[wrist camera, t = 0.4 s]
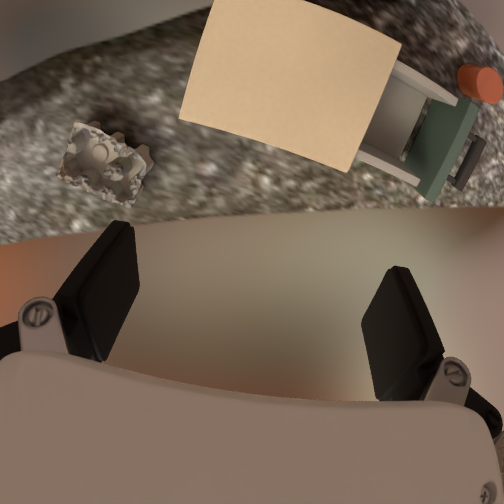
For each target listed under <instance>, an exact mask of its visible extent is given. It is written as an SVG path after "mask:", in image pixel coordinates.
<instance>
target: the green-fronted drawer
mask: <svg viewBox="0 0 504 504" xmlns="http://www.w3.org/2000/svg"><path fill="white" fill-rule="evenodd" d="M427 97H429V98H432V99H433V101H432V103H431V105H430V108H429V110H428V112H427V115H426V117H425V119H424V121H423V124H422V126H421V128H420V130H419V133H418V135H417V137H416V139H415V141H414V143H413V145H412V147H411V150H410V152H409V154H408V156H407V158H406V160H405V162H404V163H403V162H402V161H400V160H399V158H400V156H401V154H402V152H403V150H404V148H405V146H406V144H407V141H408V139H409V137H410V135H411V133H412V131H413V128H414V126H415V124H416V122H417V120H418V117H419V115H420V113H421V110H422V108H423V106H424V103H425V101H426V99H427ZM479 109H480V108H479V107H478V106H477V105H476V104H474V103H473V102H472V101H469V100H466V99H463V98H460V97H457V96H454V95H452V94H451V93H449V92H448V91H447V90H445V89H444V88H442V87H441V86H439V85H438V84H436V83H435V82H433V81H432V80H430V79H429V78H427V77H425V76H424V75H422V74H421V73H419V72H417V71H416V70H414V69H412V68H411V67H409V66H407V65H406V64H404V63H402V62H400V61H398V60H397V59H396V61H395V64H394V66H393V69H392V71H391V74H390V76H389V79H388V81H387V84H386V86H385V88H384V91H383V93H382V96H381V98H380V100H379V103H378V105H377V107H376V110H375V112H374V114H373V117H372V119H371V121H370V124H369V126H368V128H367V131H366V133H365V135H364V137H363V140H362V142H361V144H360V146H359V148H358V151H357V153H356V155H355V157H354V158H357V159H359V160H361V161H363V162H366V163H368V164H370V165H372V166H375V167H377V168H379V169H381V170H383V171H385V172H388V173H390V174H392V175H394V176H396V177H398V178H400V179H402V180H404V181H406V182H408V183H410V184H412V185H413V186H414V187H415V189H416V190H417V191H418V192H419V193H420V194H421V195H422V196H423V197H424V198H425V199H426V200H428V201H430V202H432V203H434V201H435V199H436V198H437V196H438V194H439V192H440V190H441V189H442V187H443V185H444V183H445V181H446V180H447V181H449V182H451V184H452V186H454V187H455V188H456V189H458V190H459V191H461V192H462V190H463V189H464V187H465V185H466V183H467V181H468V179H469V177H470V175H471V173H472V172H473V170H474V168H475V166H476V164H477V162H478V160H479V157H480V155H481V153H482V151H483V149H484V147H485V145H486V141H485V140H483V139H482V138H481V137H479V136H477V135H473V134H472V133H471V132H470V130H471V128H472V125H473V123H474V121H475V119H476V116H477V114H478V111H479ZM467 137H468V138H469V139H470V140H472V143H471V145H470V147H469V149H468V151H467V154H466V156H465V158H464V160H463V162H462V164H461V166H460V168H459V170H458V172H457V173H456V175H455V177H452V176H451V175H449V173H450V172H451V170H452V168H453V166H454V164H455V162H456V160H457V158H458V156H459V154H460V152H461V149H462V147H463V145H464V143H465V141H466V139H467Z"/></svg>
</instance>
